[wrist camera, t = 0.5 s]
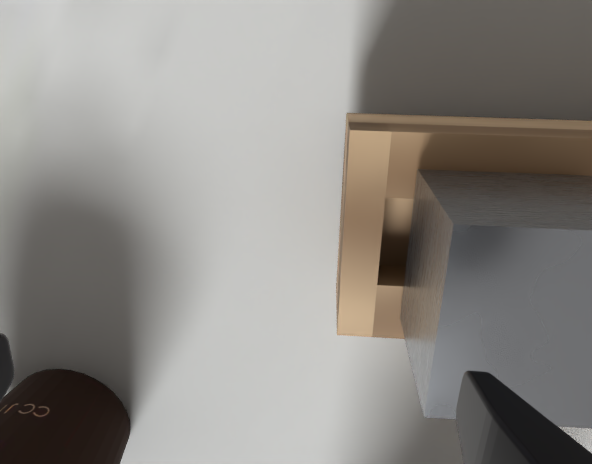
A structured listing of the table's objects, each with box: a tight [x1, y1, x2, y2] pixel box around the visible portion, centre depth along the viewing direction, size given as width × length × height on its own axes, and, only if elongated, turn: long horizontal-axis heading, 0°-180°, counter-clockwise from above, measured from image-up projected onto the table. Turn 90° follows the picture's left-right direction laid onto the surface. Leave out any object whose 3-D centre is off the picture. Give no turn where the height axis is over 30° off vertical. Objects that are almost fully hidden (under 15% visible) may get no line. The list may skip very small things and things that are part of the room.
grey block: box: [400, 169, 592, 428], centre depth 13 cm, size 5×5×6 cm
